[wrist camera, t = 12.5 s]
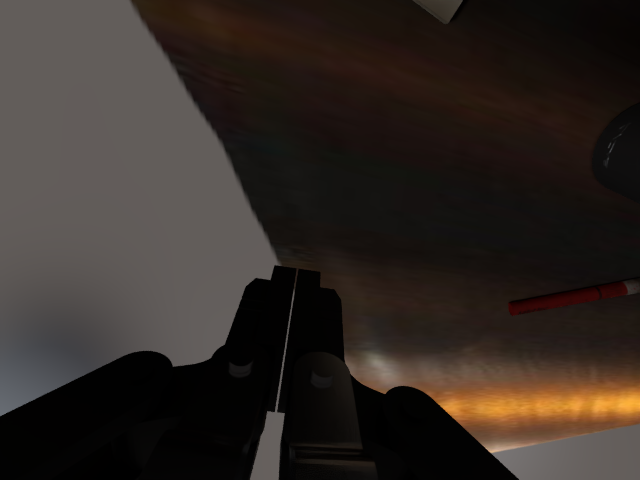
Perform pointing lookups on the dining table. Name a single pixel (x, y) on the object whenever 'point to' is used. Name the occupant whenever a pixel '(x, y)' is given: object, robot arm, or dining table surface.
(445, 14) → the pipe stand
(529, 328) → the dining table surface
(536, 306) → the flare
